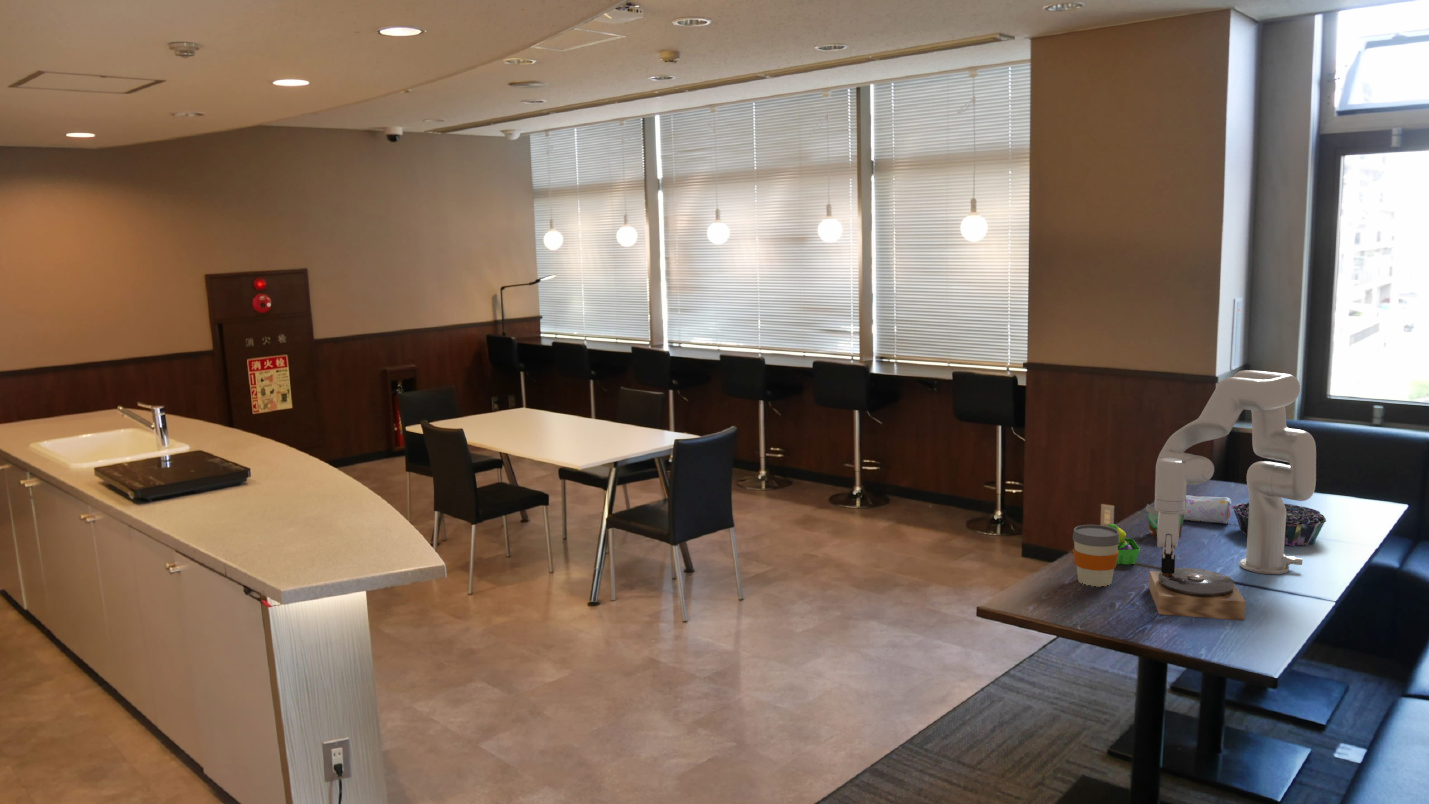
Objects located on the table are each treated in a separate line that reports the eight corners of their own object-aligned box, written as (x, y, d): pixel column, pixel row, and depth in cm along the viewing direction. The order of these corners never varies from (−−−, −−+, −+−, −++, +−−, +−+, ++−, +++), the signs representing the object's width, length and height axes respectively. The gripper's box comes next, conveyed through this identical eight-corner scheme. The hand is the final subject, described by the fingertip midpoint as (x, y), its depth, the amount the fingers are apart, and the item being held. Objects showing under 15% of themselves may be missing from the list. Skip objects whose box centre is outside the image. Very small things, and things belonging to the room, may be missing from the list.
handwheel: (1164, 569, 275) (1166, 539, 274) (1237, 580, 265) (1239, 549, 264) (1152, 589, 260) (1153, 557, 259) (1229, 600, 250) (1230, 568, 249)
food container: (1145, 538, 321) (1146, 508, 320) (1144, 533, 327) (1145, 503, 325) (1187, 541, 316) (1188, 511, 315) (1185, 536, 322) (1187, 506, 321)
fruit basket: (1140, 566, 294) (1141, 529, 293) (1108, 565, 296) (1110, 528, 294) (1132, 554, 305) (1133, 519, 304) (1102, 553, 307) (1103, 518, 305)
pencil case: (1161, 519, 342) (1162, 492, 341) (1167, 513, 349) (1168, 487, 348) (1228, 528, 330) (1229, 500, 329) (1232, 521, 337) (1234, 494, 335)
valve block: (1228, 593, 270) (1229, 575, 269) (1244, 620, 251) (1245, 601, 250) (1149, 588, 276) (1149, 571, 275) (1158, 614, 257) (1159, 595, 256)
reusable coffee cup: (1113, 591, 274) (1115, 539, 272) (1066, 584, 281) (1068, 533, 278) (1122, 578, 285) (1123, 527, 282) (1076, 571, 291) (1078, 522, 289)
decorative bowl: (1300, 530, 331) (1301, 501, 330) (1344, 549, 303) (1345, 517, 303) (1220, 530, 333) (1221, 501, 333) (1256, 549, 306) (1257, 517, 305)
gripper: (1155, 495, 272) (1153, 560, 275) (1153, 511, 257) (1151, 579, 260) (1185, 498, 268) (1183, 562, 271) (1185, 513, 254) (1183, 582, 257)
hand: (1167, 570), depth 266 cm, fingers closed on handwheel, 2 cm apart
